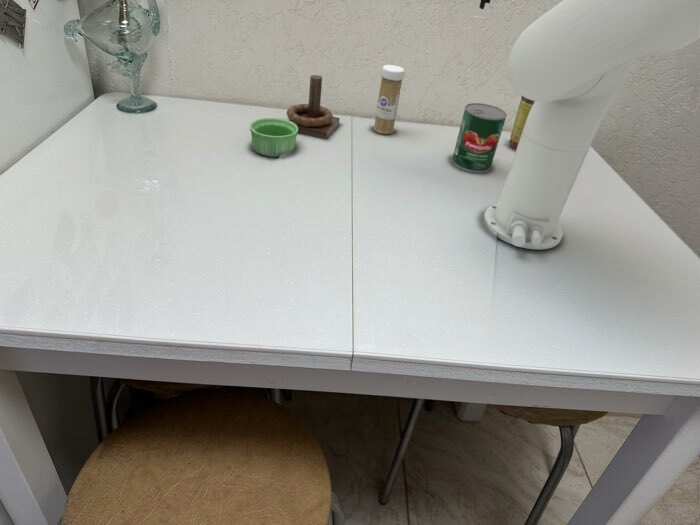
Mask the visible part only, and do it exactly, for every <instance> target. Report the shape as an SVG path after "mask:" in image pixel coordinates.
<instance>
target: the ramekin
mask: <svg viewBox="0 0 700 525" xmlns="http://www.w3.org/2000/svg"><path fill="white" fill-rule="evenodd" d="M249 131H250V135H251V136H250V137H251V145H252V149H253V150H254V151H255V152H256V153H257V154H259V155H262V156H265V157H271V158H280V157H281V156H282V155H283V154H286V153H290V152H292V151H294V149H295V148H296V144H297V136H298V134H299V133H298V127H297V125H296V124H294V123H293V122H291V121H289V119H285V118H279V117H262V118H257V119H255V120H253V121H251V122H250V123H249Z"/></svg>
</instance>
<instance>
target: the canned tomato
mask: <svg viewBox="0 0 700 525" xmlns="http://www.w3.org/2000/svg"><path fill="white" fill-rule="evenodd" d="M507 116H508V114H507V112H506V111H505V110H504V109H502V108H500V107H497V106H494V105H492V104H487V103H480V102H471V103H468V104H466V105H465V106H464V110H463V115H462V120H461V123H460V126H459V131H458V134H457V138H456V142H455V146H454V150H453V154H452V157H451V162H452V164H453V165H454V166H455V167H457V168H458V169H460V170H463V171H465V172H468V173H474V174H484V173H488V172H489V171H490V170H491V169H492V164H493V162H494V158H495V155H496V152H497V150H498V149H497V148H498V145H499V142H500V138H501V136H502V132H503V130H504V126H505V122H506V119H507Z"/></svg>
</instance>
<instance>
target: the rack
mask: <svg viewBox="0 0 700 525" xmlns="http://www.w3.org/2000/svg"><path fill="white" fill-rule="evenodd" d="M322 86H323V76H321V75H317V74H312V75H310V76H309V92H308V95H309V96H308V104H309V106H308V113H299V114H297V115H299V116H303V117H307V118H320V117H323V116H321V115H319V114H320V106H321V98H322ZM288 121H290V120H289V119H288ZM291 122H292V121H291ZM293 123H294V122H293ZM294 124H295V123H294ZM296 125H297V124H296ZM339 125H340V117H337V116H333V120H332V121H331V122H330V123H329V124H328V125H325V126H321V127H306V126H301V125H297V127H298V133H297V134H301V135H306V136H311V137H316V138H319V139H325V140H327V139H328V138H329V136H330V135H332V133H333V132H334V131H335V130H336V128H337V127H338V126H339Z"/></svg>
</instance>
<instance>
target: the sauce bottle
mask: <svg viewBox="0 0 700 525" xmlns="http://www.w3.org/2000/svg"><path fill="white" fill-rule="evenodd" d="M534 102H535V101H532V100H529V99H527V98H525V97H523V96H522V95H521V97H520V102H519V104H518V107H517V108H518V109H517V112H516V115H515V119H514V122H513V126H512V130H511V132H510V133H511V134H510V137H509V138H510V140H509V145H510V147H511V148H512V149H515V150H516V149H517V146H518V143H519V140H520V137H521V135H522V132H523V129H524V126H525V123H526V120H527V117H528V115H529V113H530V110H531V108H532V106H533V104H534Z"/></svg>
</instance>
